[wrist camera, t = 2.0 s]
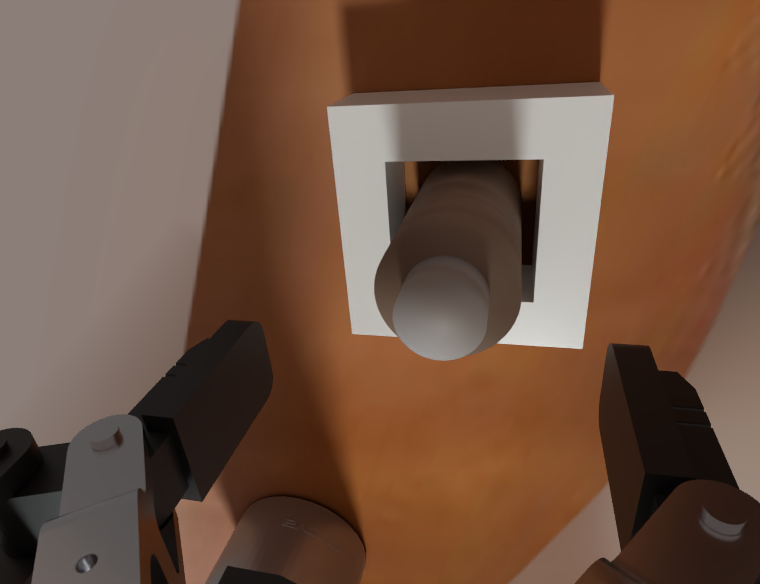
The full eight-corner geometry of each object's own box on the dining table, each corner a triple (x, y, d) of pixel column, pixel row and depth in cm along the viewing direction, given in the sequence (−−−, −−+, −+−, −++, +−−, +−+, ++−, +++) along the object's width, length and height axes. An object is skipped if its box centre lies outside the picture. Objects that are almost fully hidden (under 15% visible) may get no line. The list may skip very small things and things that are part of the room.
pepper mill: (487, 267, 24) (469, 409, 16) (402, 222, 24) (338, 340, 16) (541, 185, 22) (555, 299, 13) (448, 135, 22) (402, 217, 13)
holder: (574, 306, 24) (582, 348, 21) (371, 296, 26) (352, 333, 23) (600, 81, 20) (613, 95, 17) (353, 93, 22) (327, 106, 19)
